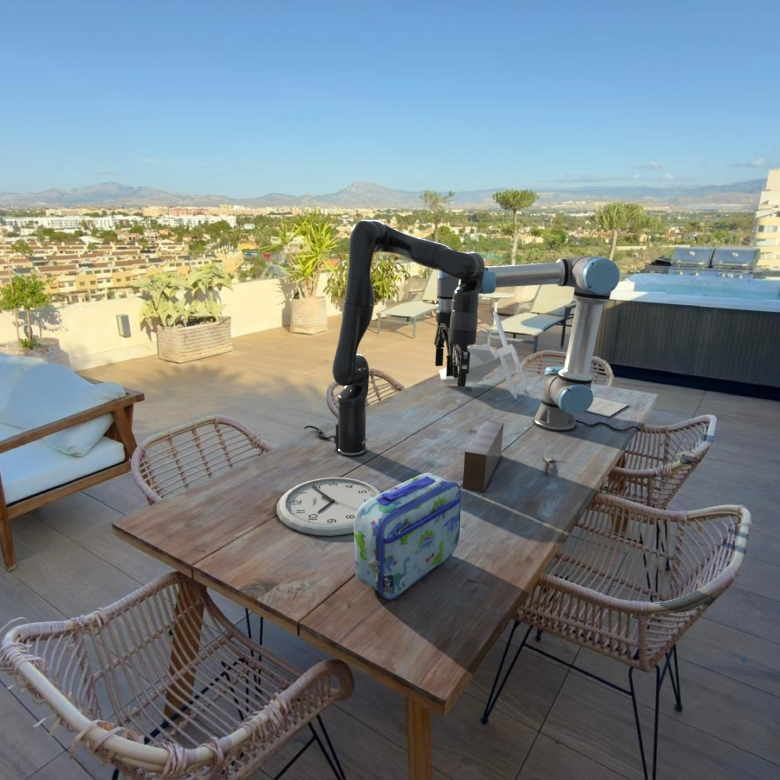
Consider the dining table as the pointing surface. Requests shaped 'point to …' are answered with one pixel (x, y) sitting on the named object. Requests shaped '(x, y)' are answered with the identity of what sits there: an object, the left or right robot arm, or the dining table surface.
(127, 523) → the dining table surface
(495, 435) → the box
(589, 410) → the invitation card
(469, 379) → the white plastic object
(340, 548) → the dining table surface
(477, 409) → the dining table surface
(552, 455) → the fork
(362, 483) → the wall clock
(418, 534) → the lunch box
